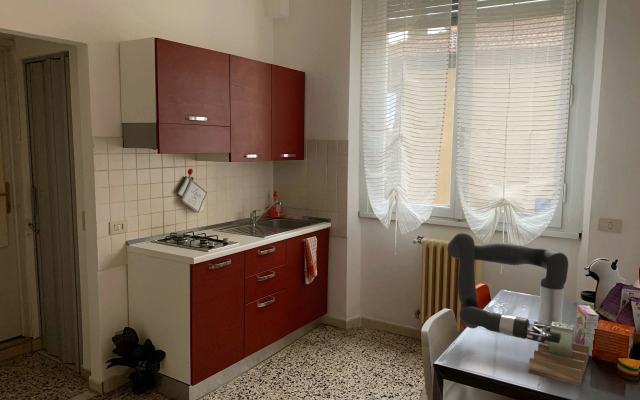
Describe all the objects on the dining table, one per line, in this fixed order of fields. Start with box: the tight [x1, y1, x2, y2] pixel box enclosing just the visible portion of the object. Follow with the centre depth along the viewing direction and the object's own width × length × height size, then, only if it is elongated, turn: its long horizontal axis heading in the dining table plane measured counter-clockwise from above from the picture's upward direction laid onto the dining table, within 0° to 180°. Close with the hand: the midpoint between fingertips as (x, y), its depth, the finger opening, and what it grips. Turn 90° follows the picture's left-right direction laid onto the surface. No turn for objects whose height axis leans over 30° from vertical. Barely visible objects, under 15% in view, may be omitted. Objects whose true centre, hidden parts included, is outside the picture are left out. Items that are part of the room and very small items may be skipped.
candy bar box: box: [573, 304, 600, 357], centre depth 188 cm, size 11×5×16 cm, turn 168°
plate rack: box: [528, 341, 590, 387], centre depth 175 cm, size 25×16×5 cm, turn 146°
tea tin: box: [549, 321, 575, 359], centre depth 175 cm, size 5×7×14 cm
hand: (561, 336), depth 174 cm, fingers open, 8 cm apart
